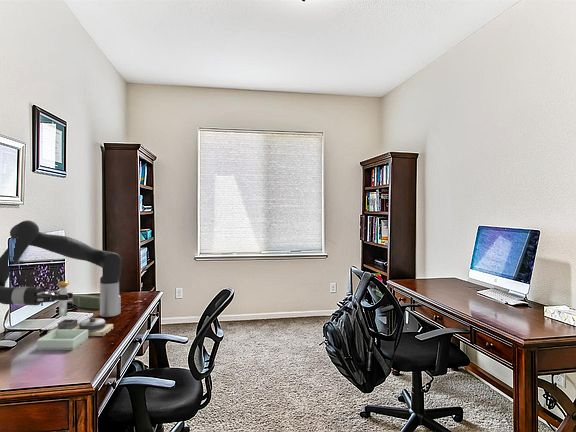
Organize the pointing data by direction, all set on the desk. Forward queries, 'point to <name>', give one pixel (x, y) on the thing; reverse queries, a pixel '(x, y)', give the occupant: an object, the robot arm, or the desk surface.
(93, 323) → the tensioner bracket
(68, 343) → the tray
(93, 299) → the handheld radio
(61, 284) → the orange capped tube
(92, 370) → the desk surface
